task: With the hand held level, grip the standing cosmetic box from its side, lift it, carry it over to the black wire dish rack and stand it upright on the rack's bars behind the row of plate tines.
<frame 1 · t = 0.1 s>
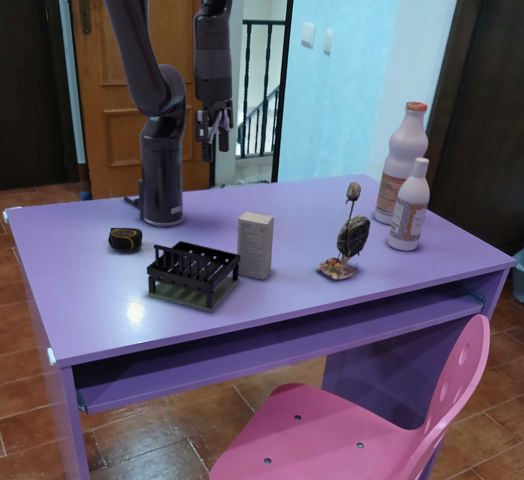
hand: (216, 156, 120), 17 cm above the table, tool pointing down, fingers open, 8 cm apart
dish rack: (195, 289, 107), on the table
cosmetic box: (252, 274, 114), on the table
tape measure: (124, 247, 120), on the table
plant with pod: (340, 271, 118), on the table
bath foam: (401, 245, 131), on the table
fruit juice: (391, 220, 144), on the table
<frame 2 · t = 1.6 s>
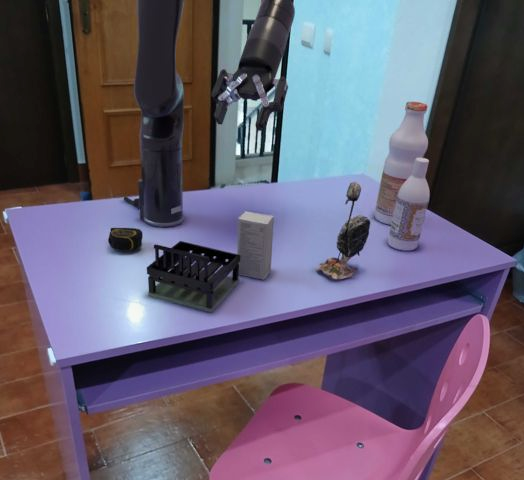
hand: (238, 125, 107), 26 cm above the table, tool tilted 45°, fingers open, 8 cm apart
nothing on the table moved.
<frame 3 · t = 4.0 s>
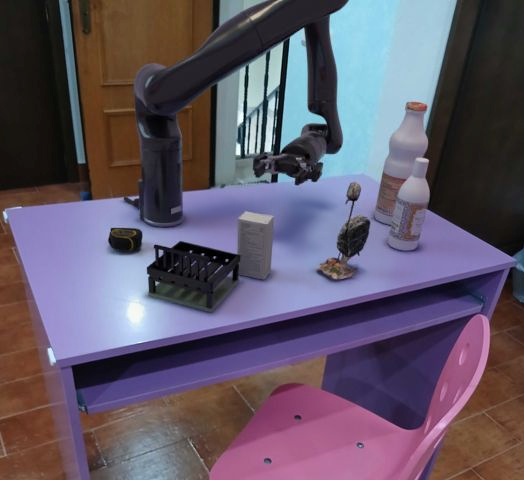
hand: (276, 176, 112), 17 cm above the table, tool horizontal, fingers open, 8 cm apart
nothing on the table moved.
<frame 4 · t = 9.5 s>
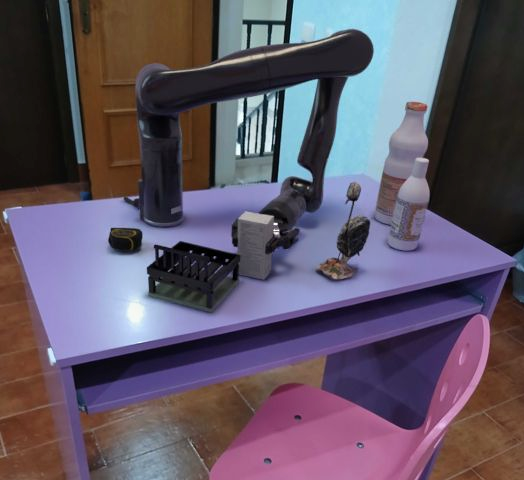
hand: (251, 246, 108), 7 cm above the table, tool horizontal, fingers closed on cosmetic box, 6 cm apart
cosmetic box: (252, 274, 114), on the table, touching gripper
everything else where it was.
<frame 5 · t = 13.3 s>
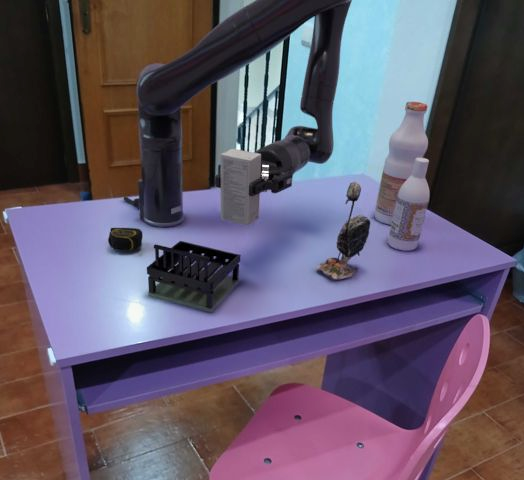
hand: (234, 186, 98), 20 cm above the table, tool horizontal, fingers closed on cosmetic box, 6 cm apart
cosmetic box: (238, 220, 104), point 12 cm above the table, touching gripper
everything else where it was.
when the fingers open (12 cm above the table, at t = 17.4 s): cosmetic box stays where it is, resting on dish rack.
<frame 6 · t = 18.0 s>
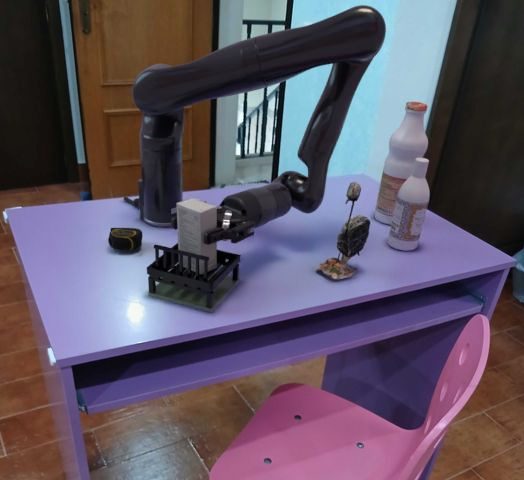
hand: (188, 231, 99), 12 cm above the table, tool horizontal, fingers open, 8 cm apart
cosmetic box: (196, 267, 105), point 4 cm above the table, touching dish rack
everything else where it was.
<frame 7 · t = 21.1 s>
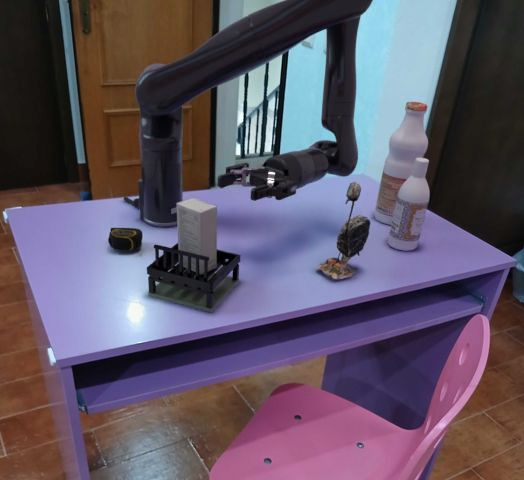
hand: (235, 188, 104), 17 cm above the table, tool horizontal, fingers open, 8 cm apart
nothing on the table moved.
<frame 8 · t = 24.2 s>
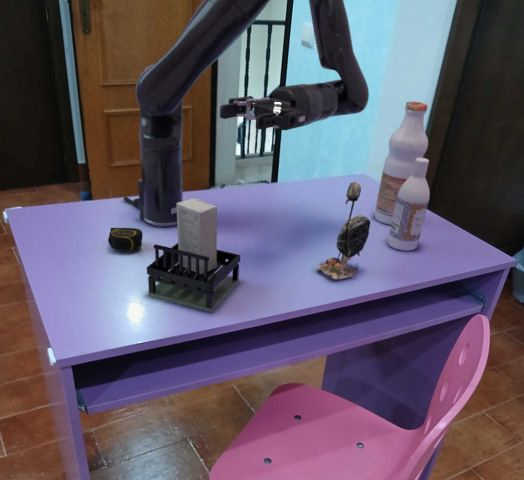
hand: (239, 117, 97), 30 cm above the table, tool horizontal, fingers open, 8 cm apart
nothing on the table moved.
at the end: cosmetic box inside the target area on the dish rack (0.1 cm from its centre), point 4.4 cm above the dish rack's base; cosmetic box tilted 0°; the gripper is holding nothing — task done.
